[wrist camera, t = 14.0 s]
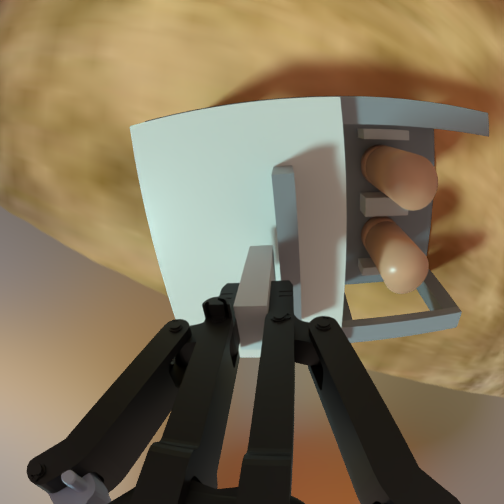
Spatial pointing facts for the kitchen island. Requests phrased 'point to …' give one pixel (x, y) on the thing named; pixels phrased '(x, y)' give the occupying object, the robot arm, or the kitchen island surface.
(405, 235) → the seated rounded capsule
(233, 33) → the kitchen island surface
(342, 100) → the housing
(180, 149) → the lid
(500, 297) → the kitchen island surface
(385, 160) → the pink rounded capsule
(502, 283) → the kitchen island surface
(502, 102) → the kitchen island surface
